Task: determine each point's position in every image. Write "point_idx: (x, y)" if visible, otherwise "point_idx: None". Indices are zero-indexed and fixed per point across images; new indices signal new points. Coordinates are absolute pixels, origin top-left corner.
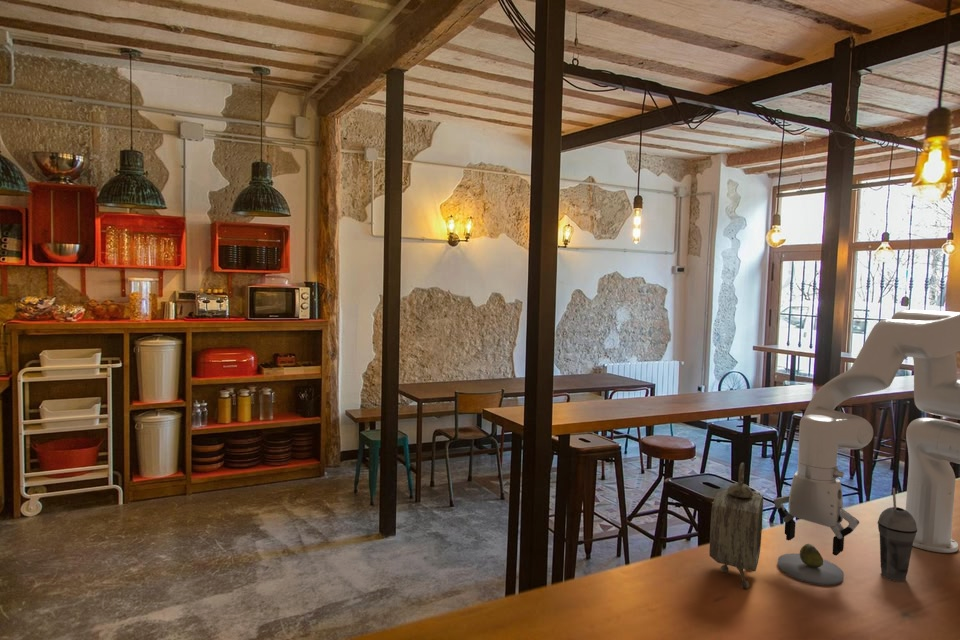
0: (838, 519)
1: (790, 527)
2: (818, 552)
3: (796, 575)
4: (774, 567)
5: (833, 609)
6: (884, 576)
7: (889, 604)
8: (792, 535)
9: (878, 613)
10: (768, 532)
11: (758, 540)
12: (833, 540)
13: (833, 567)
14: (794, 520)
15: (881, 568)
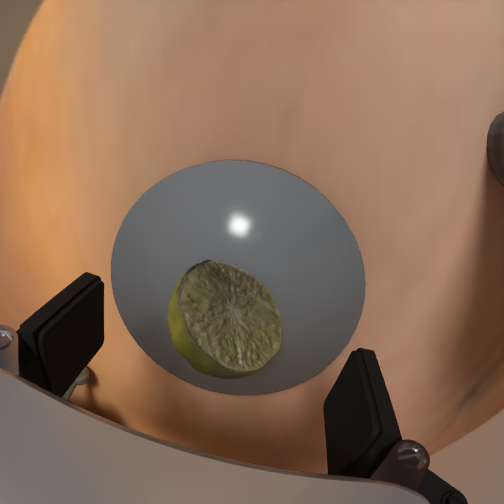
0: (408, 499)
1: (65, 389)
2: (255, 370)
3: (202, 385)
4: (126, 328)
5: (311, 462)
6: (495, 172)
7: (455, 373)
8: (93, 321)
9: (411, 428)
10: (53, 5)
11: None
12: (329, 468)
13: (326, 246)
14: (32, 338)
15: (502, 161)
